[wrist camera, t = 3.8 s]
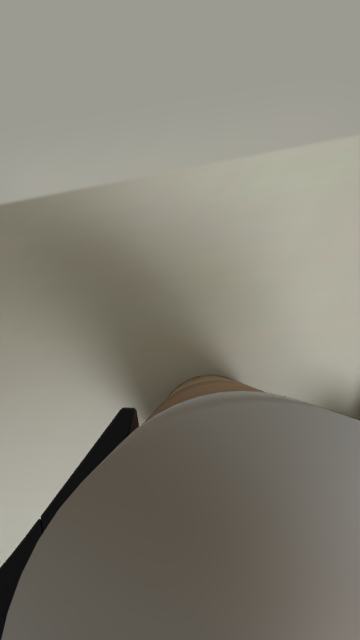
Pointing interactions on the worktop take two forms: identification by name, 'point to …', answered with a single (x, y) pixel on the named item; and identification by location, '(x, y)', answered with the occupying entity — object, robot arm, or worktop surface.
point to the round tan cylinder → (206, 528)
